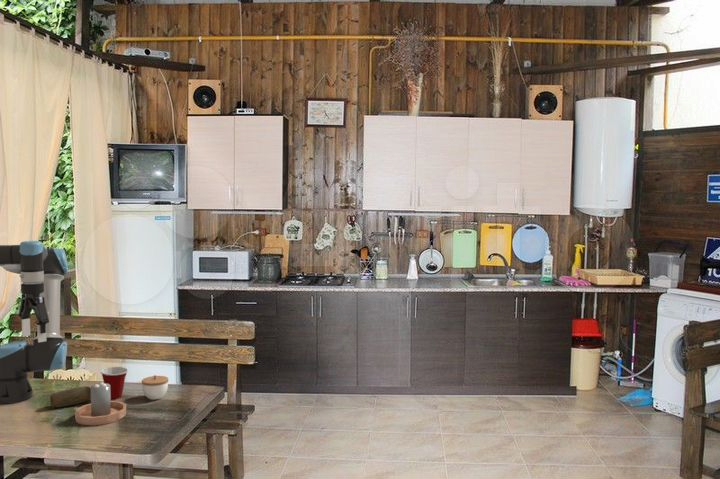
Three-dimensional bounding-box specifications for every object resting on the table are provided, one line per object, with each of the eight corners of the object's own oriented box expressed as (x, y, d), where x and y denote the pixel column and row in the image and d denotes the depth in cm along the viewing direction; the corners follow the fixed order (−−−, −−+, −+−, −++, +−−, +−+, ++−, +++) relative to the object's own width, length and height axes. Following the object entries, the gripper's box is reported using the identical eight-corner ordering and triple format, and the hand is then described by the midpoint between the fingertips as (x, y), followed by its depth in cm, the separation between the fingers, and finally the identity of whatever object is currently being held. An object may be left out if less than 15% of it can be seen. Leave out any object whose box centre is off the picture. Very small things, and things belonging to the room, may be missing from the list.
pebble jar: (87, 414, 229) (86, 383, 228) (105, 409, 234) (104, 379, 234) (96, 418, 225) (96, 387, 224) (114, 413, 230) (113, 383, 229)
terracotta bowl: (66, 417, 228) (66, 410, 228) (111, 405, 242) (111, 397, 242) (90, 429, 217) (89, 421, 217) (135, 415, 231) (135, 407, 231)
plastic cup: (118, 402, 246) (118, 374, 245) (95, 400, 248) (94, 372, 247) (133, 394, 256) (133, 366, 255) (111, 392, 258) (110, 365, 257)
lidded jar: (174, 396, 254) (173, 374, 253) (153, 403, 245) (152, 380, 244) (157, 391, 260) (157, 370, 259) (136, 398, 251) (136, 376, 250)
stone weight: (87, 398, 250) (87, 383, 250) (92, 403, 245) (92, 387, 245) (48, 406, 240) (48, 390, 240) (53, 411, 235) (52, 395, 235)
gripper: (7, 280, 225) (9, 335, 227) (36, 287, 210) (38, 346, 211) (28, 278, 231) (30, 332, 233) (58, 284, 216) (59, 342, 217)
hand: (34, 338), depth 222 cm, fingers open, 13 cm apart
